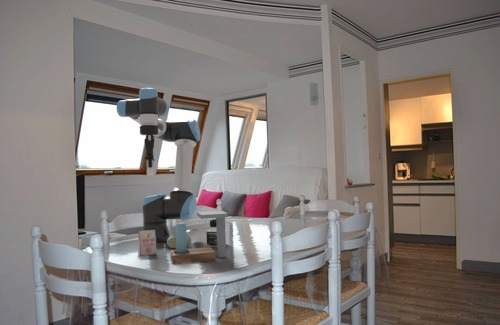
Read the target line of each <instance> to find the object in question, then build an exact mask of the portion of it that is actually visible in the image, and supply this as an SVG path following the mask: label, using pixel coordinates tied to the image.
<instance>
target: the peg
mask: <svg viewBox="0 0 500 325" xmlns="http://www.w3.org/2000/svg"><path fill="white" fill-rule="evenodd" d="M175 225H176V249H175V250H177V254H180V253H187V249H188V246H187V235H188V234H187V222H178V223H177V222H176V223H175Z"/></svg>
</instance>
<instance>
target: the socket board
mask: <svg viewBox="0 0 500 325" xmlns="http://www.w3.org/2000/svg"><path fill="white" fill-rule="evenodd" d="M170 260H171V264H172V265H174V264H175V265H178V264H187V263H189V264H190V263H198V262H199V263H200V262H210V261H216V251H215V250H214V249H213V248H212V247H207V246H205V247H203V246H202V247H193V248H187V253H180V254H177V250H176V249H170Z"/></svg>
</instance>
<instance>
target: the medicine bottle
mask: <svg viewBox="0 0 500 325" xmlns="http://www.w3.org/2000/svg"><path fill="white" fill-rule="evenodd" d="M205 234H206V247H211V248H212V247H214V248H217V228H216V218H211V220H209V229H207V230H206V233H205ZM225 234H226V246H227V245H228V229H227V228H225Z"/></svg>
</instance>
